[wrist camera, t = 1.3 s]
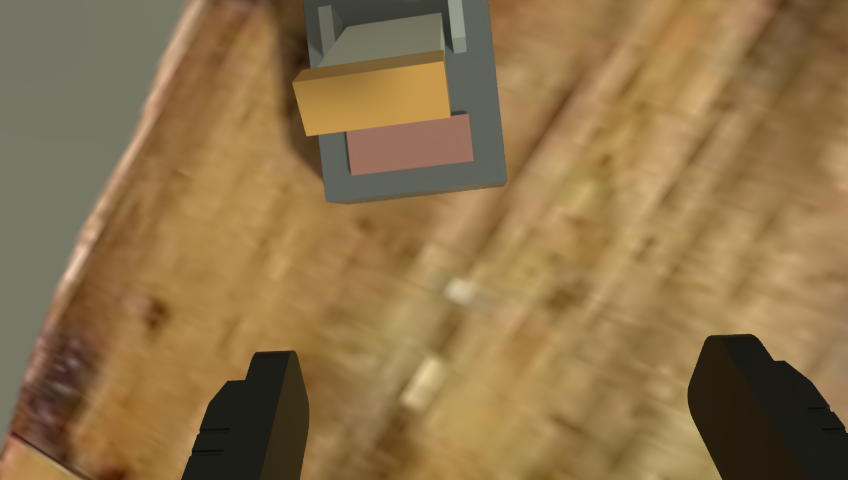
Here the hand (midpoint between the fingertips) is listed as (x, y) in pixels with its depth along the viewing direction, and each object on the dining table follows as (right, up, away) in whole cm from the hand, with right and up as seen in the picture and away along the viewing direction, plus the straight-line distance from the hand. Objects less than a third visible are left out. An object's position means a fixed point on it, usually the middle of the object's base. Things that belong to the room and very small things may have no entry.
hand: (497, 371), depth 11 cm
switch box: (-3, +16, +31) cm, 35 cm away
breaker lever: (-3, +16, +24) cm, 29 cm away
